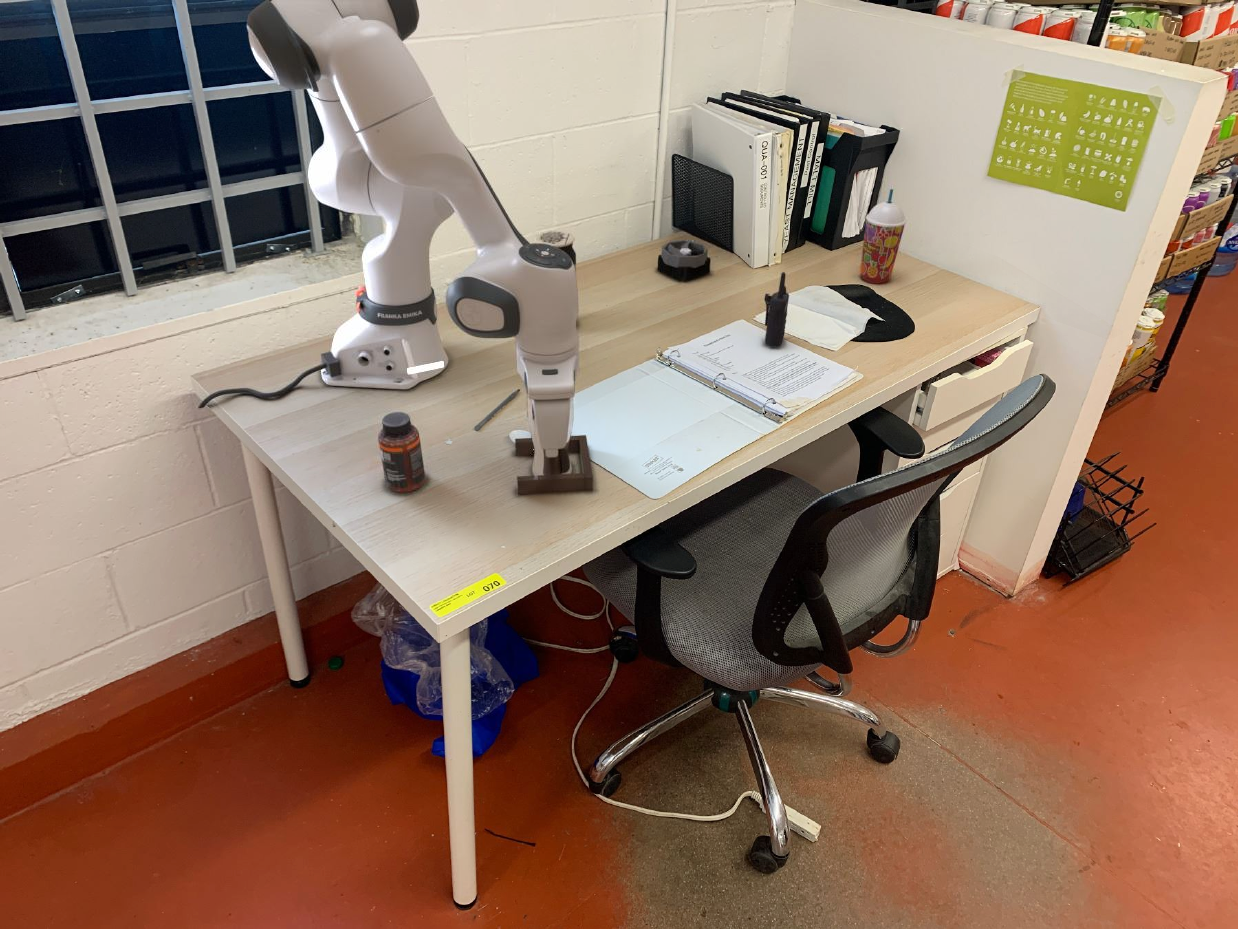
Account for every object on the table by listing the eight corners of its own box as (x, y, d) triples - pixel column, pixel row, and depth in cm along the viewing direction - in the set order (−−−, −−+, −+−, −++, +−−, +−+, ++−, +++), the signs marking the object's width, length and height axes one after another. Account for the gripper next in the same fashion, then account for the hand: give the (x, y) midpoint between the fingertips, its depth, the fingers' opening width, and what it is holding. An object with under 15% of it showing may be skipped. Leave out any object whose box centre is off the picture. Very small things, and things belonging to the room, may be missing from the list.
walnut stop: (517, 494, 135) (517, 481, 134) (515, 451, 144) (515, 438, 143) (592, 490, 136) (592, 476, 135) (586, 447, 146) (586, 434, 144)
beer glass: (568, 486, 137) (567, 401, 128) (523, 480, 138) (519, 395, 129) (579, 460, 143) (578, 377, 134) (536, 454, 144) (533, 371, 135)
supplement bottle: (428, 470, 140) (420, 407, 133) (422, 493, 135) (414, 429, 128) (389, 470, 139) (379, 407, 133) (382, 494, 135) (371, 429, 128)
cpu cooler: (683, 260, 195) (652, 245, 201) (681, 284, 198) (651, 270, 204) (717, 248, 200) (686, 235, 207) (715, 273, 204) (684, 259, 210)
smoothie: (848, 273, 205) (864, 184, 194) (881, 269, 207) (898, 181, 196) (867, 287, 199) (884, 197, 187) (901, 283, 201) (920, 194, 189)
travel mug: (531, 330, 179) (527, 243, 168) (543, 313, 185) (540, 228, 175) (570, 335, 177) (568, 247, 167) (581, 318, 184) (580, 232, 173)
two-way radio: (779, 350, 174) (789, 276, 165) (756, 346, 175) (765, 273, 167) (785, 337, 178) (794, 265, 170) (762, 334, 179) (771, 262, 171)
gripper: (523, 326, 137) (526, 405, 145) (528, 396, 121) (531, 480, 129) (564, 325, 138) (566, 403, 146) (575, 394, 121) (576, 478, 129)
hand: (550, 440), depth 137 cm, fingers closed on beer glass, 6 cm apart
